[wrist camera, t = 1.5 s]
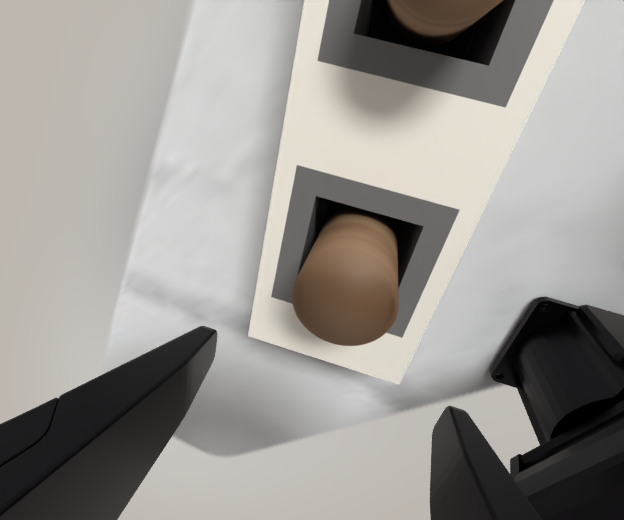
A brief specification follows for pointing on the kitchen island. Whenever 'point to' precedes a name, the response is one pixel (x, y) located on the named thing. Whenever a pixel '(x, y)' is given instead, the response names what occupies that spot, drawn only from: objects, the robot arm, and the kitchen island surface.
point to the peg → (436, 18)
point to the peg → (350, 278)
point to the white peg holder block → (397, 155)
